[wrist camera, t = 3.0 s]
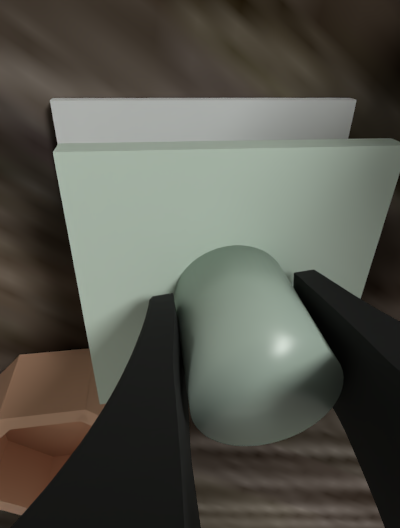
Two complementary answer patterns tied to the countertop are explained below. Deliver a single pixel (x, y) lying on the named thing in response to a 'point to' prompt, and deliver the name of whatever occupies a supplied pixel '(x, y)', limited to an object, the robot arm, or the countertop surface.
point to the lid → (225, 264)
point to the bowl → (42, 420)
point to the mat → (200, 119)
